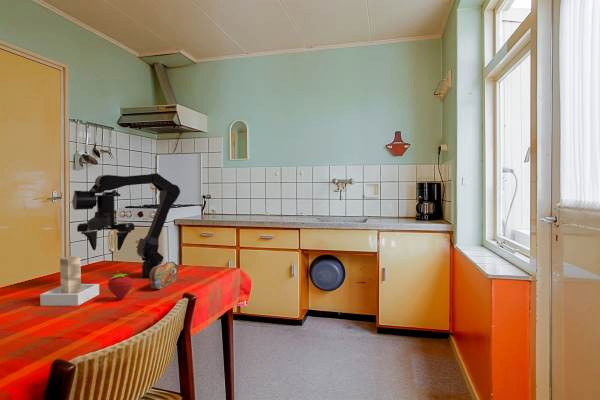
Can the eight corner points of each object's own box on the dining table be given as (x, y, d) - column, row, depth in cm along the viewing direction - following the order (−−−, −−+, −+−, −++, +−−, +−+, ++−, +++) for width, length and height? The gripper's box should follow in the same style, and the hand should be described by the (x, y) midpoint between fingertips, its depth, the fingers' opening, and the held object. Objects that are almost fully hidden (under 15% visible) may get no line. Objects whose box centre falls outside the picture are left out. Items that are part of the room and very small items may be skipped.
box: (99, 294, 120) (99, 284, 120) (78, 305, 109) (77, 294, 109) (65, 294, 120) (65, 284, 120) (40, 305, 109) (40, 294, 109)
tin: (155, 292, 123) (155, 268, 123) (147, 291, 124) (147, 267, 123) (178, 281, 138) (178, 259, 137) (171, 280, 138) (171, 259, 138)
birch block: (73, 294, 117) (72, 256, 117) (81, 296, 116) (80, 257, 115) (61, 298, 114) (60, 258, 113) (68, 299, 112) (67, 259, 111)
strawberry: (128, 302, 112) (127, 271, 112) (104, 302, 112) (103, 271, 111) (136, 296, 118) (135, 267, 117) (113, 297, 117) (112, 267, 117)
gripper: (66, 210, 123) (67, 254, 124) (120, 210, 124) (120, 254, 124) (85, 208, 135) (86, 248, 135) (134, 208, 135) (135, 248, 135)
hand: (106, 250), depth 132 cm, fingers open, 9 cm apart
